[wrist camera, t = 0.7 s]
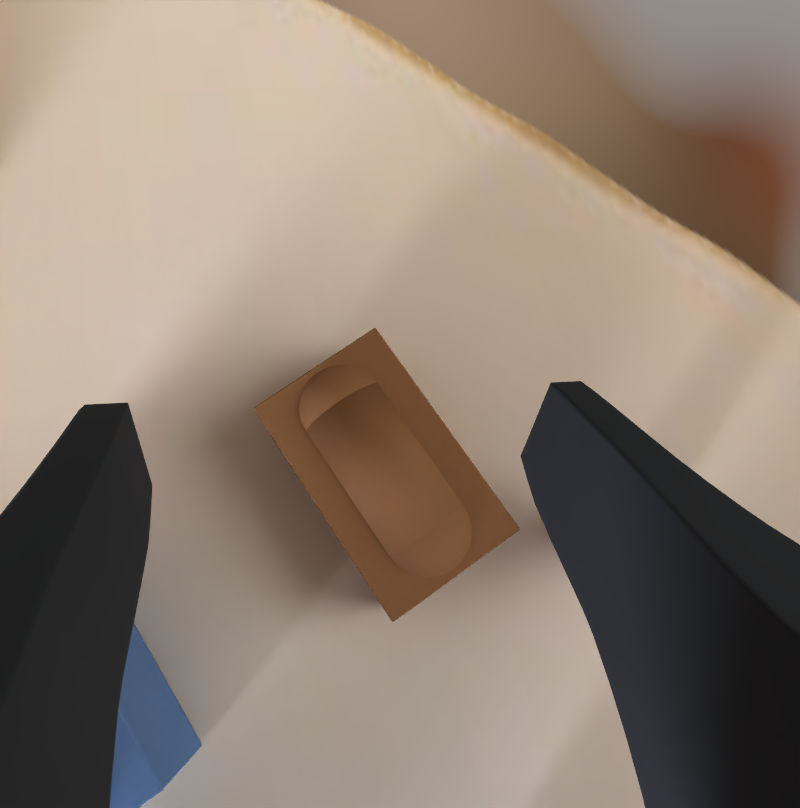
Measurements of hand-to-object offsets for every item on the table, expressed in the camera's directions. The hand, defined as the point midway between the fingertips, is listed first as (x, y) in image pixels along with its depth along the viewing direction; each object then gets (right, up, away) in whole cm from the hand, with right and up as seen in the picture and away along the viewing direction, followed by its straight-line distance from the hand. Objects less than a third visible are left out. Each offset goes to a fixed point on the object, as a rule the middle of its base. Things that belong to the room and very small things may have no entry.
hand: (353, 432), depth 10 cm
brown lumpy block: (0, -3, +16) cm, 16 cm away
